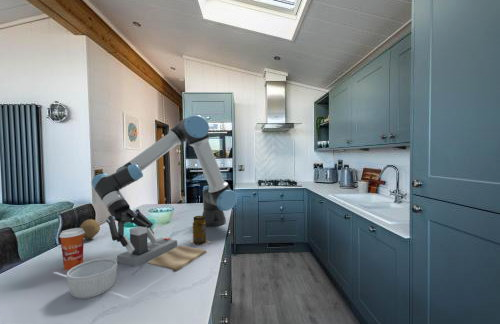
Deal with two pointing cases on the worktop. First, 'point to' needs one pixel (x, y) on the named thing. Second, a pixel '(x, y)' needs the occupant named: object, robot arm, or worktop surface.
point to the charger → (139, 240)
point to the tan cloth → (177, 257)
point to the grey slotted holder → (153, 251)
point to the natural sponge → (90, 228)
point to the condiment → (199, 231)
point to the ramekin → (92, 277)
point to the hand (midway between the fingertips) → (144, 246)
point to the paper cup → (72, 247)
